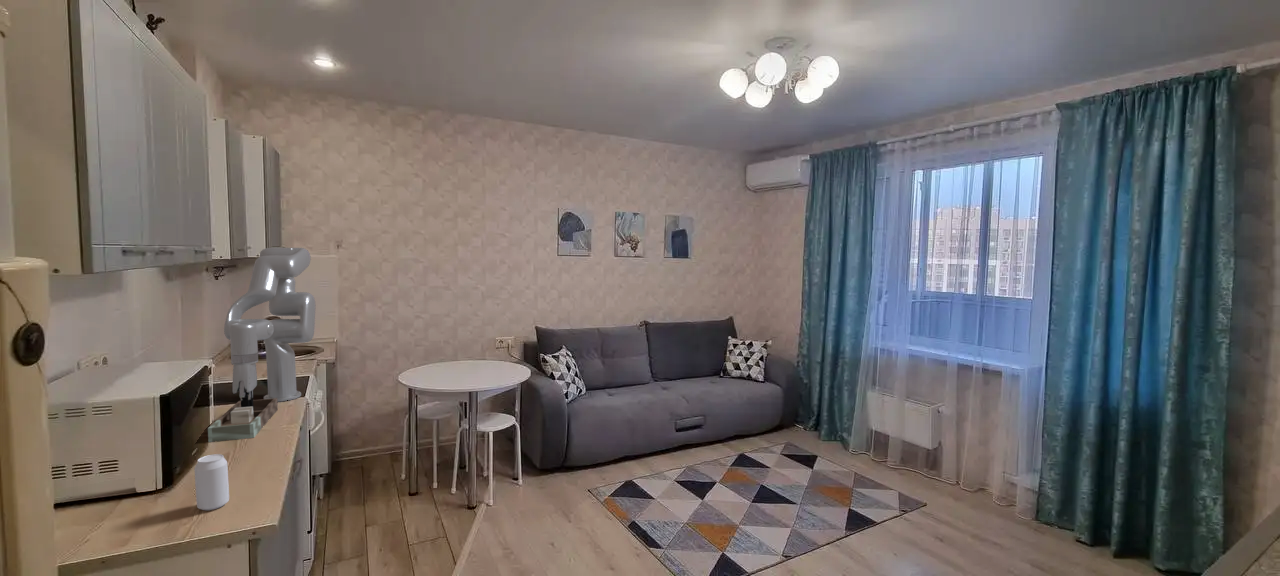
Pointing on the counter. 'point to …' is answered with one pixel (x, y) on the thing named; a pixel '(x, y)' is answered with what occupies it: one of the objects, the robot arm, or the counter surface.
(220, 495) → the beverage can
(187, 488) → the counter surface
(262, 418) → the box
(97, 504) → the counter surface
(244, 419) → the block
